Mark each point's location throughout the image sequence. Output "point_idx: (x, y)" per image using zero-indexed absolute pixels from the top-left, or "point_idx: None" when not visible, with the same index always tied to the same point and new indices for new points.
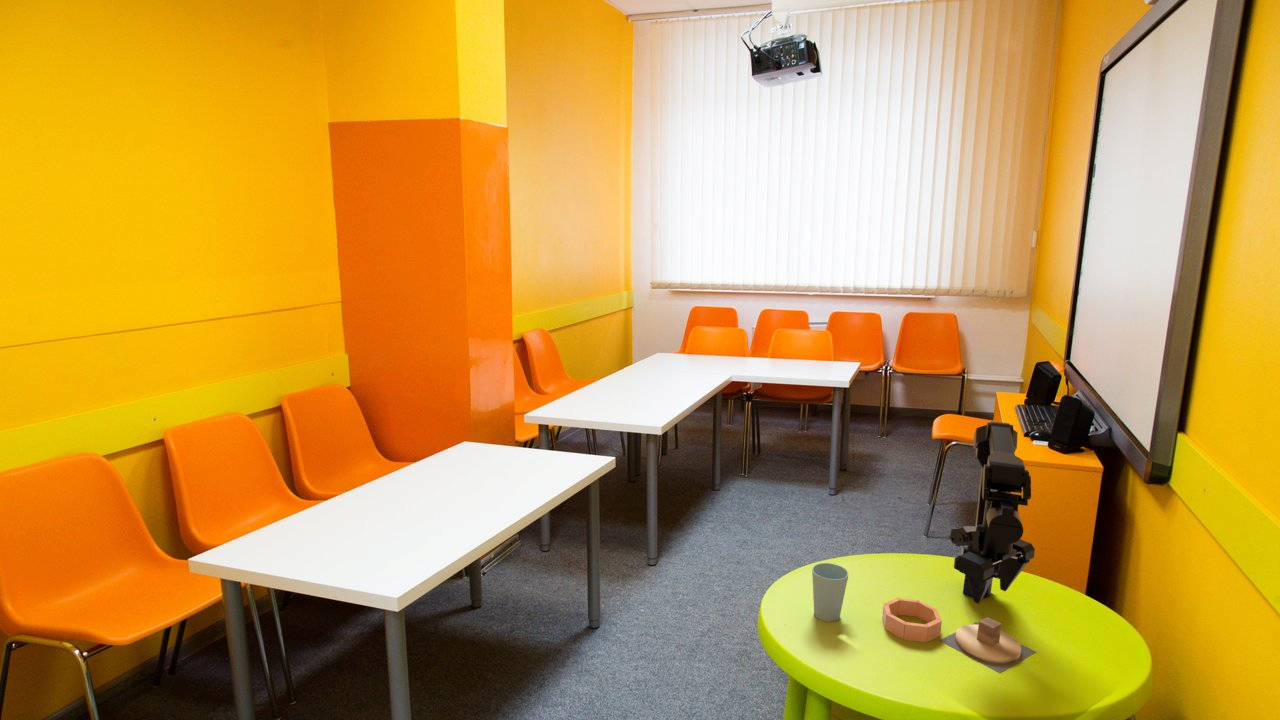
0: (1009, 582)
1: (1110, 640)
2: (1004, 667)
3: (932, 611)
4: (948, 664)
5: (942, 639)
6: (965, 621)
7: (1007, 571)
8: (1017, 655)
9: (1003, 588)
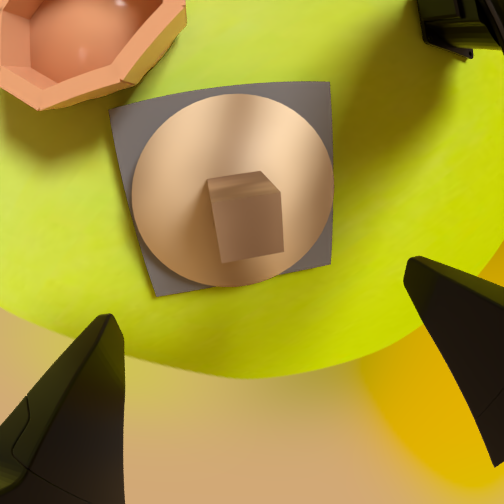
0: (436, 340)
1: (466, 263)
2: (187, 285)
3: (163, 4)
4: (73, 198)
5: (122, 108)
6: (322, 47)
7: (491, 361)
8: (251, 283)
9: (411, 282)
